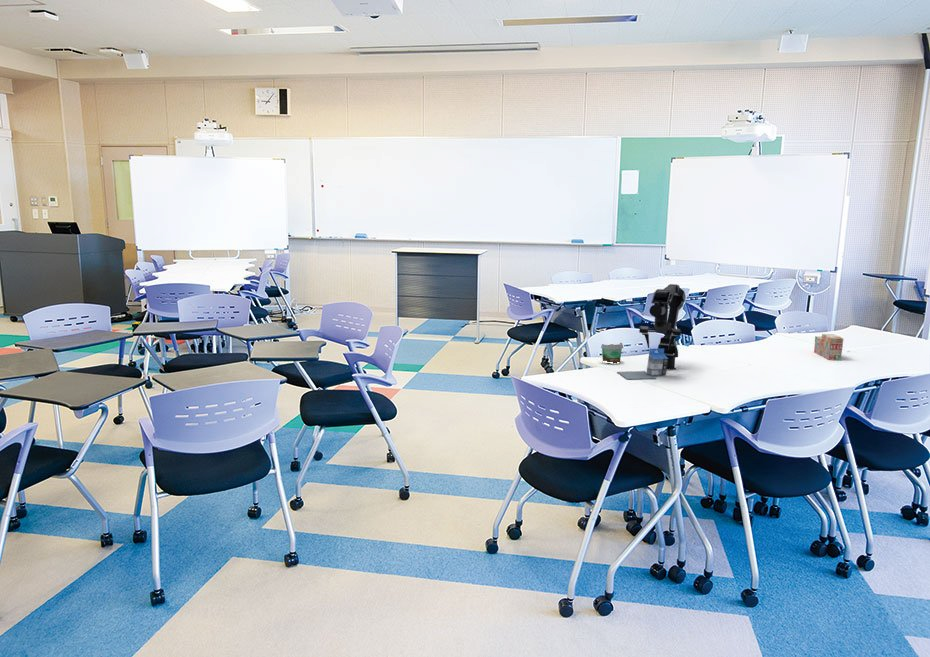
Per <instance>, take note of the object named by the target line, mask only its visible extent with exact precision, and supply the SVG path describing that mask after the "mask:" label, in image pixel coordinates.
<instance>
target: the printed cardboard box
mask: <svg viewBox="0 0 930 657" xmlns="http://www.w3.org/2000/svg"><path fill="white" fill-rule="evenodd" d="M843 344H844V338H843V337H841V336H839V335H837V334H835V333H822V334H821V336H814V350H813V352H814V353H815V354H817V355H818V356H820V357H822V358H823V359H826V360H827V361H837V362H838V361H840V362H841V361H842V352H843Z"/></svg>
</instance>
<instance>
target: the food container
mask: <svg viewBox="0 0 930 657" xmlns="http://www.w3.org/2000/svg"><path fill="white" fill-rule="evenodd" d="M600 349H601V352H602V353H601V354H602V362H603V361H607V362H613V363H617V362H620V363H621V356H622V351H623V350H622V349H624V345H623V343H622V342H619V344H613V343H612V344H604V343H602V344H601V346H600Z"/></svg>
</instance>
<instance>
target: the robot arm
mask: <svg viewBox="0 0 930 657" xmlns="http://www.w3.org/2000/svg"><path fill="white" fill-rule="evenodd" d="M686 299H687V297H686V293H685V290H683V289H682V288H681V287H680V285H679V284H674V283H670V284H668V285H667V286H666V287H664V288H659V289H656V290H654V292H653V296H652V300H651V304H652V305H651V306H650V307H649V313H650V315H651V316H652V317H654V324H653V328H651V327H649V326H645V325H644V326H643V325H640V326H639V329H638V330H639V332H638V333H640V334H641V335H643V336H644V338H645V340H646V346H647V349H650V338H649V336H650V334H649V333H658V334H664V336H663V337H662V336H661V337H660V340H659V343H658V345H657V349H664V355H665V356H666V357H667V358H668V365H667V370H677V368H676V367H675V366H676V365H675V364H676V358H679V349H678V347H677V342H676V340H675V339H676V338H679V336H682V330H681V329H680V328H677V323H678V319H679V318H678V317H679V312H680V310H681V308H683V307H684V302H686ZM657 352H659V351H657Z"/></svg>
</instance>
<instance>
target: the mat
mask: <svg viewBox="0 0 930 657" xmlns="http://www.w3.org/2000/svg"><path fill="white" fill-rule="evenodd" d="M616 373H617V374H618V375H619V374H620V376H621V377H622V378H623V379H625V380H627V381H633V380H635V381H636V380H640V381H641V380H657V377H656V376H651V375H648V374H646V373H647V371H645V370H642V371H641V370H639V371H637V370H636V371H635V370H633V371H631V370H630V371H627V370H626V371H616Z"/></svg>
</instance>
